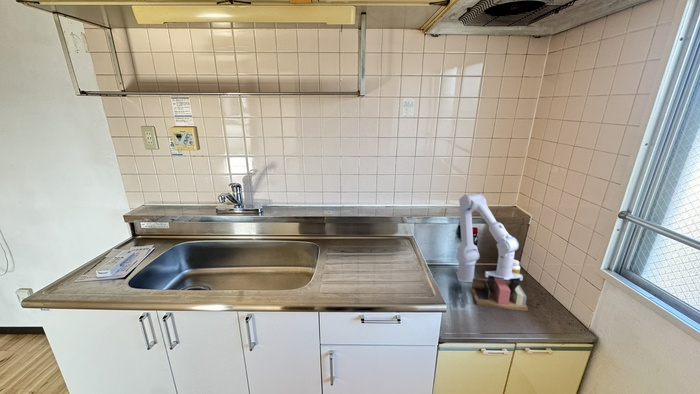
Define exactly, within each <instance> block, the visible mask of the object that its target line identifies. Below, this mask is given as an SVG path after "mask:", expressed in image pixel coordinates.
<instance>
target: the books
mask: <svg viewBox="0 0 700 394" xmlns="http://www.w3.org/2000/svg"><path fill="white" fill-rule="evenodd" d="M511 296H512V298H513V300H514V302H515V303H516V304H517V305H525V304H526V305H527V295H526V293H525V292H524V290H523V289H522V287H521V284H520V285H518V286H517V287H516V289H515V290H514V292H513V294H512V295H511Z"/></svg>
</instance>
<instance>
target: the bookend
mask: <svg viewBox="0 0 700 394" xmlns="http://www.w3.org/2000/svg"><path fill="white" fill-rule="evenodd" d="M475 291H476V293H477V296H478V299H483V300H489V295H490V289H489V287H488V284H487V282H486V280H485V282H484V289H478V288H475Z"/></svg>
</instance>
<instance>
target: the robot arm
mask: <svg viewBox="0 0 700 394" xmlns="http://www.w3.org/2000/svg"><path fill="white" fill-rule="evenodd" d="M458 199H459V207H458V208H459V211H458V212H459V213H458V214H459V225H460V228H459V229H460V239H461V244H459V246H458V247H457V248H456V249H457V252H456V260H457V262H458V268H457V270H456V271H455V273H456V278H457V281H458V282H463V283H472V280H473V278H475V277H474V275H475V267H476V266H475V265H476V263H477V261H479V260H480V253H479V250H478V246H477V245H476V244H475V243H474V234H473V232H474V231H473V219H472V217H473V216H472V213H473V212H478V213H479V214H480V216H481V217H482V218H483V220H485V222H486V223H487V225H488V226H489V227H488V230H489V232H490V233H491V235H492V237H493V239H494V240H495V241H496V242H497V243H496V248H497V250H498V251H497V253H498V258H497V266H496V270H490V271H489V270H488V271H487V270H485V271H484V276H485V278H487V279H488V280H489V284H490V291H491V293H493V291H494V284H495V280H494V279H495V278H496V279H504V280H505V281H510V287H509V289H510V290H511V291H510V295H512V294H513V292H514V290H515V289H516V287H517V286H518V285H520V286H521V281H523V279H524V276H523V274H521V273H520V274H516V273H512V267H513V261H514V260H515V254H516V253H515V252H516V251H517V250H518V249H519V247H520V244H519V241H518V240H517V238H516V237H514V236H512V235H510V234H509V233H508V231H507V230H506V228H505V226H504V224H502V222H499V221H497V220H496V218H495V216H494V215H493V213H492V211H491V210H490V207H488V204H487V199H486V198H485V195H484V194H483V193H481V192H477V193H473V194H463V195H462V196H461V197H460V198H458ZM509 279H510V280H509Z"/></svg>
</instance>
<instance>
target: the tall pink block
mask: <svg viewBox="0 0 700 394" xmlns="http://www.w3.org/2000/svg"><path fill="white" fill-rule="evenodd" d="M494 278H495V279H494V280H495V284H494V291H493V294H494V296H495V298H496V300H497V302H498V304H504V305H508V304H509V298H510V291H511V290H510V289H509V287H508V285H507V283H506V282H505V281H506V280H504V279H502V278H497V277H494Z"/></svg>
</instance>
